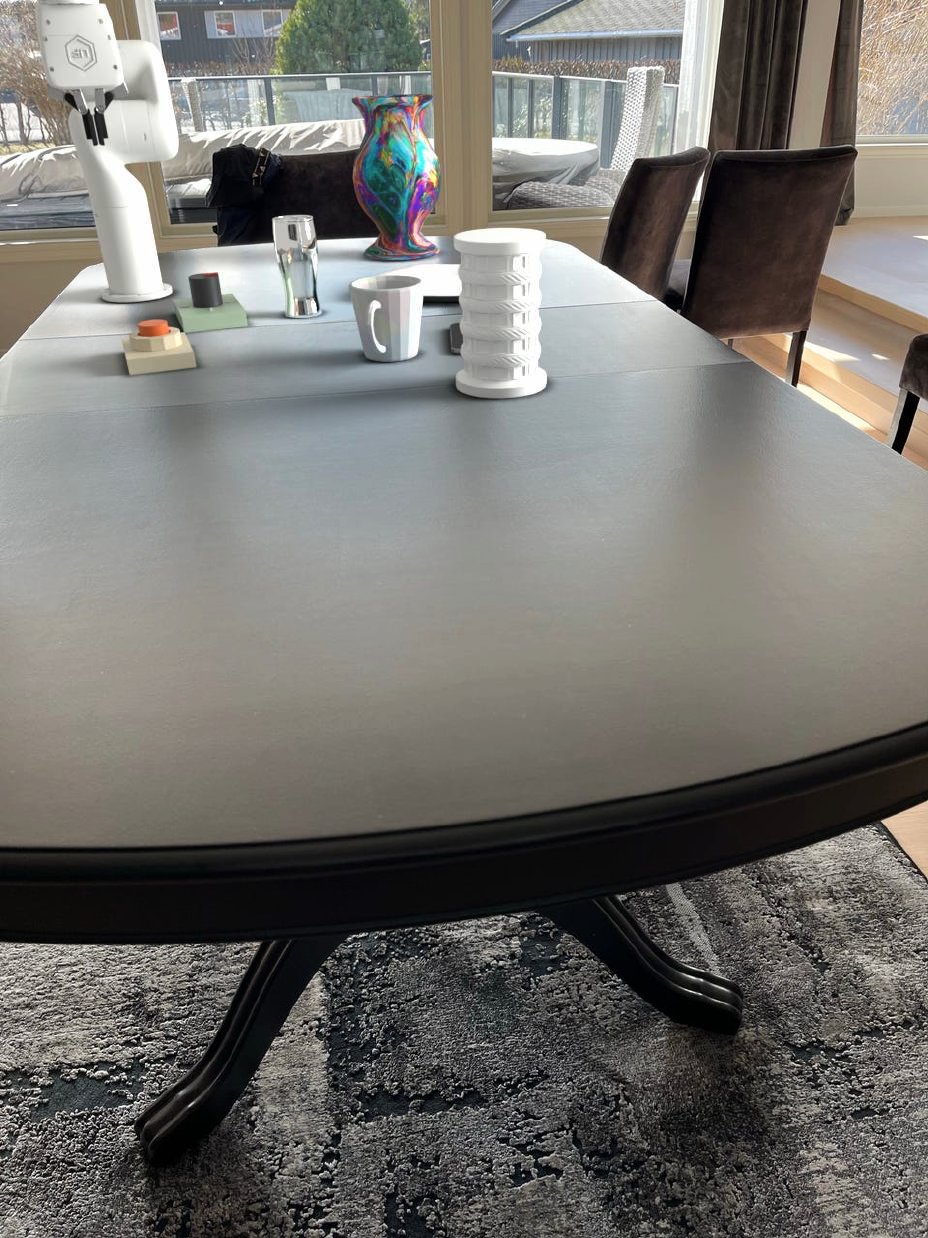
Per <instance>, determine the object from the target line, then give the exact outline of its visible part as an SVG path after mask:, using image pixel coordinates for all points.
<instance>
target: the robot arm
mask: <svg viewBox="0 0 928 1238" xmlns="http://www.w3.org/2000/svg"><path fill="white" fill-rule="evenodd" d="M39 3H40V4H34V17H35V24H36V25H35V27H36V32H37V33H36V34H37V38H38V44H39V50H40V56H41V62H42V65H43V72H44V75H45V78H46V81H47V97H48V98H49V99H51V100H54V101H59V102H64V103H68V104H69V105H70V106H71V107H73V108H72V109H71V111H70V113H69V115H68V130H69V133H70V138H71V140H72V143H73V146H74V148H75V151H76V154H77V158H78V161H79V163H80V166H81V169H82V172H83V175H84V176H83V177H84V180H85V184H86V188H87V193H88V196H89V201H90V205H91V206H90V207H91V210H92V215H93V220H94V224H95V229H96V234H97V239H98V243H99V248H100V253H101V258H102V263H103V267H104V271H105V276H106V281H107V285H108V288H105V289H103V290H102V291H101V293H100V295H101V298H102V300H103V301H106V302H109V303H140V302H148V301H154V300H159V299H162V298H165V297H169V296H170V295H172V294H173V291H174V290H173V286H172V285H171V284H169V283H164V282H163V278H162V273H161V269H160V263H159V257H158V251H157V246H156V240H155V235H154V229H153V224H152V219H151V213H150V208H149V203H148V202H149V201H148V198H147V194H146V191H145V188H144V186H143V185H142V183H141V182H140V181H139V180H138V179H137V178H136V177H135V176H134V175H133V174H132V173H131V172H130V171H129V170H128V169H127V168H126V165H128V164H136V163H137V164H138V163H154V162H155V163H157V162H164V161H170V160H172V159H174V158H175V157H177V154H178V151H179V143H180V142H179V141H180V140H179V132H178V126H177V121H176V115H175V111H174V105H173V101H172V95H171V89H170V84H169V78H168V74H167V70H166V66H165V63H164V59H163V57H162V54H161V52H160V50H159V49H158V48H157V47H156V45H155V44H153V42H150V41H148V40H145V39H117V38H116V34H115V31H114V25H113V20H112V18H111V15H110V14H109V11H108V8H107V6H106V4H105V3H100V0H39ZM62 90H63V91H62ZM66 90H68V91H69V90H70V91H71V92H67V91H66Z"/></svg>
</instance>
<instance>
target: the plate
mask: <svg viewBox="0 0 928 1238" xmlns="http://www.w3.org/2000/svg"><path fill="white" fill-rule="evenodd" d="M459 265H460V264H459V263H458V264H457V263H455V264H454V263H453V264H452V263H451V264H450V263H449V264H447V263H446V264H444V263H443V264H440V263H439V264H438V263H435V264H410V265H405V266H402V267H397V268H394V269H390V270H385V271H383V272H381V273H380V272H379V273H378V274H375V275H374V276H382V275H406V276H413V277H417V278H420V279H422V280H423V281H424V292H423V302H445V303H446V302H459V295H460V292H461V291H462V284H461V280H460V279H459V275H458V269H459Z"/></svg>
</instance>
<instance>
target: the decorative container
mask: <svg viewBox="0 0 928 1238" xmlns="http://www.w3.org/2000/svg"><path fill="white" fill-rule="evenodd" d="M545 246H546V233H545V232H544V231H542V230H538V229H532V228H522V227H491V228H480V229H479V228H478V229H472V230H471V229H470V230H466V231H462V232H458V233H456V234H454V235H453V248H454V250H455V251H457V252H459V253H460V263H459V264H458V265H459V269H458V275H459V279H460V280H461V284H462V291H461V292H460V295H459V301H458V302H459V306H460V309H461V311H462V312H461V313H462V315H461V318H460V319H459V321H460V322H459V323H460V330H461V333H462V334H463V344H462V346H461V352H460V353H459V354H460V356H461V359H462V360H463V368H462V369H460V370H459V371H458V372H457V373H456V374H455V387H456V389H457V390H458V391H459V392H461V393H462V394H465V395H468V396H471V397H477V398H483V399H514V398H520V397H526V396H530V395H534V394H536V393H538V392H541V391H542V390H543V389H545V388H546V385H547V372H546V371H545V370H544V369H542V368H541V367H540V366H539V358H540V356H541V353H542V347H541V343H540V341H539V333H540V331H541V328H542V320H541V317H540V315H539V307H540V305H541V302H542V298H543V296H542V291H541V290H540V287H539V285H540V283H539V282H540V279H541V277H542V271H543V268H542V263H541V261H540V251H541V250H543V249H544V248H545Z"/></svg>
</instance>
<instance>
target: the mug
mask: <svg viewBox="0 0 928 1238" xmlns="http://www.w3.org/2000/svg"><path fill="white" fill-rule="evenodd" d="M348 291H349V295H350V300H351V304H352V308H353V312H354V317H355V321H356V325H357V329H358V334H359V338H360V342H361V346H362V351H363V354H364V356H365V358H366V359H368V360H371V361H374V362H380V363H381V362H383V363H393V362H402V361H407V360H409V359H412V358H414V357H416V356H417V354H418V352H419V345H420V342H419V341H420V333H421V324H422V323H421V322H422V313H423V302H424V301H423V292H424V281H423V280H422V279H420V278H417V277H413V276H406V275H382V276H375V275H372V276H366V277H362V278H361V277H360V278H358V279H354V280H353V281H351V282H350V283H349V284H348Z"/></svg>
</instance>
